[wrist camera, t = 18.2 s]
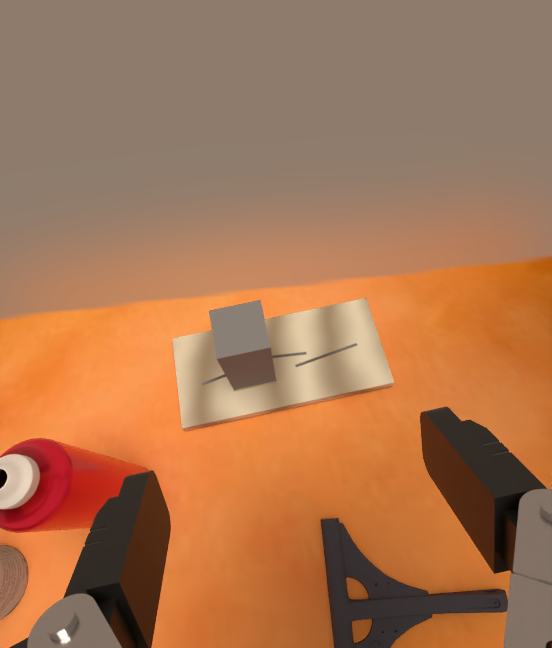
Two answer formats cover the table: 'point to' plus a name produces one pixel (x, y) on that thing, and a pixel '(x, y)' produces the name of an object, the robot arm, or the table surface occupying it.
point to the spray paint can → (11, 578)
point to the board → (286, 366)
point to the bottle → (56, 485)
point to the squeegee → (386, 595)
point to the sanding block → (243, 345)
